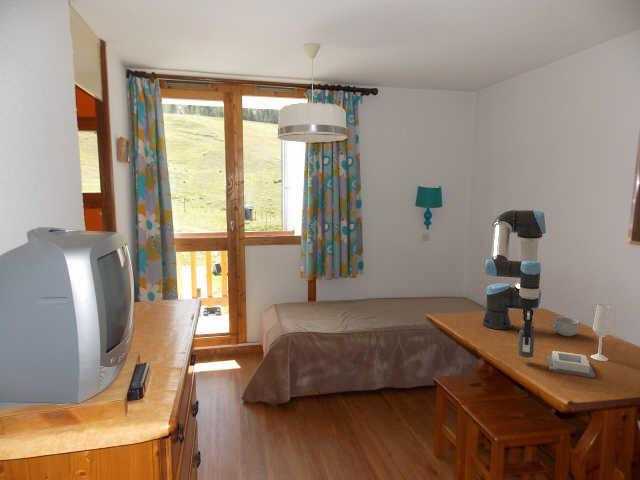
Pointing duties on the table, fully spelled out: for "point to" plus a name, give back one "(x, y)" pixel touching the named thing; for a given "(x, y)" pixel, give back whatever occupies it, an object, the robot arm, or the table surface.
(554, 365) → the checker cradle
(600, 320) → the champagne flute
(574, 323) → the teacup
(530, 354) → the bottle
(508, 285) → the robot arm
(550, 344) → the table surface
